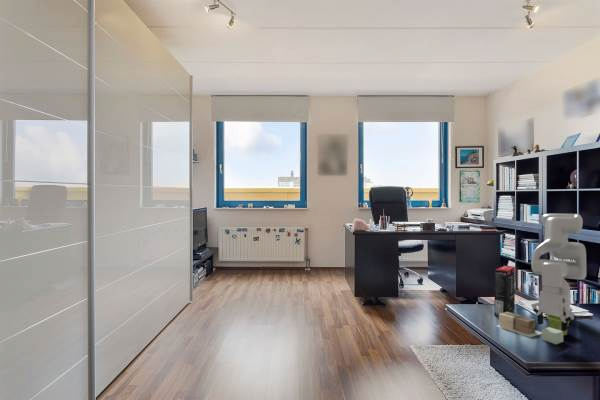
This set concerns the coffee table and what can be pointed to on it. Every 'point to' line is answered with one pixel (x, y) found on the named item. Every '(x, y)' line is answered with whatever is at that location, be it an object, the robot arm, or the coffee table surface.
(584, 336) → the coffee table surface
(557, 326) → the plant pot
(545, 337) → the sage block
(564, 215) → the robot arm
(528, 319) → the walnut cube
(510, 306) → the graphics card box
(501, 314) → the maple base
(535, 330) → the board
